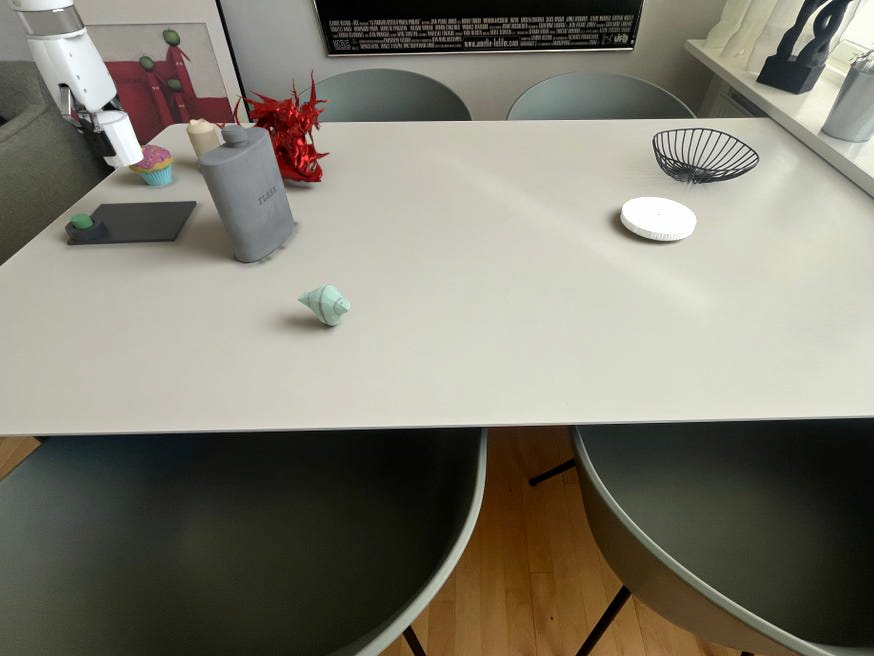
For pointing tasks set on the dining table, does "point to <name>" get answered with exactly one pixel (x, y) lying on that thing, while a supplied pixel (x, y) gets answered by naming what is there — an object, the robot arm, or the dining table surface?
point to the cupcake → (154, 165)
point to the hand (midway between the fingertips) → (115, 145)
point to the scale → (133, 223)
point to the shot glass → (119, 137)
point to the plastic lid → (658, 218)
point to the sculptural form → (289, 133)
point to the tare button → (81, 221)
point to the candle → (202, 136)
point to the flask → (248, 192)
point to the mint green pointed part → (326, 304)
